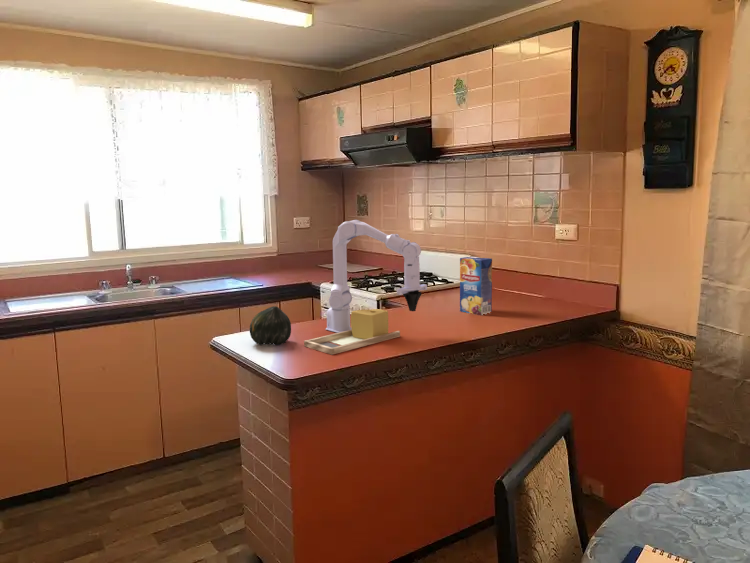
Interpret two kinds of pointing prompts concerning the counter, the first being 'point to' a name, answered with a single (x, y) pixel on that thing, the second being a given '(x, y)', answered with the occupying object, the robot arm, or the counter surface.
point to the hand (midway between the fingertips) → (412, 310)
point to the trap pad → (329, 344)
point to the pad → (346, 340)
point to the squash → (270, 327)
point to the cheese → (369, 323)
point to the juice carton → (476, 285)
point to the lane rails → (315, 344)
